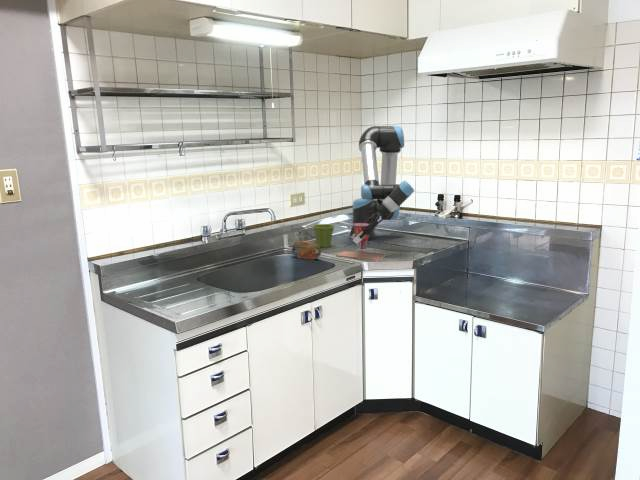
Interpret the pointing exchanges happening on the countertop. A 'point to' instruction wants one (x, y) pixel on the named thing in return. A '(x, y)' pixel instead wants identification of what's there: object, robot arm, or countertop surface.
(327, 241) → the plant pot
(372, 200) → the robot arm
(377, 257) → the mat
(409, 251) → the countertop surface
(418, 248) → the countertop surface
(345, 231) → the countertop surface
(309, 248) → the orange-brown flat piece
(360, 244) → the cup
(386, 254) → the pink thin bar
